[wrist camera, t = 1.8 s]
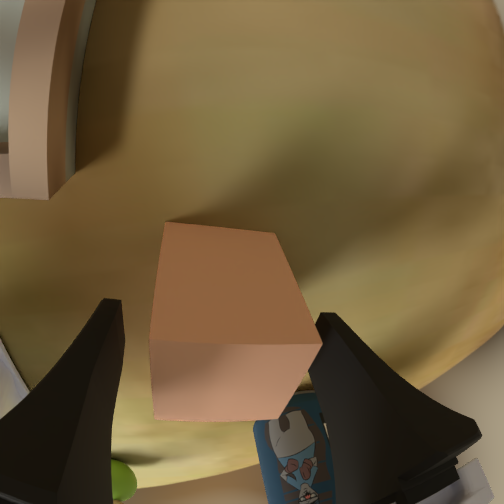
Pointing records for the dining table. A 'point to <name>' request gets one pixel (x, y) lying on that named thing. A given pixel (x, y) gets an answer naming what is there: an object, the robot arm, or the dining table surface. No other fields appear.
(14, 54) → the walnut base
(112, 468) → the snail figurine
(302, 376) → the terracotta block
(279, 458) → the soda can
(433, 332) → the dining table surface
